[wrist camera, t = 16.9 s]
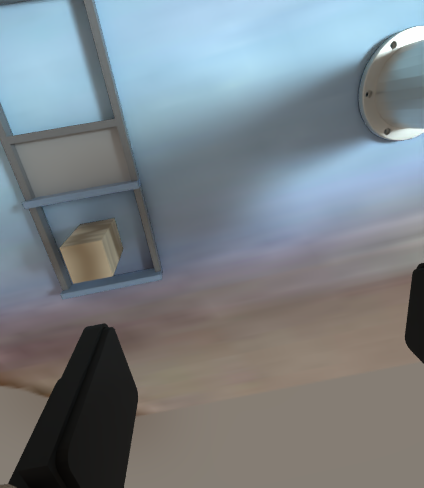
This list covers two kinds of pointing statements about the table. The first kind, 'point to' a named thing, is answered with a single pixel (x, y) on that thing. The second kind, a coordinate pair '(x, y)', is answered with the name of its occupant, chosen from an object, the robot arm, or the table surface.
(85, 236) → the tan wooden block
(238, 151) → the table surface
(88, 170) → the grey flat frame
